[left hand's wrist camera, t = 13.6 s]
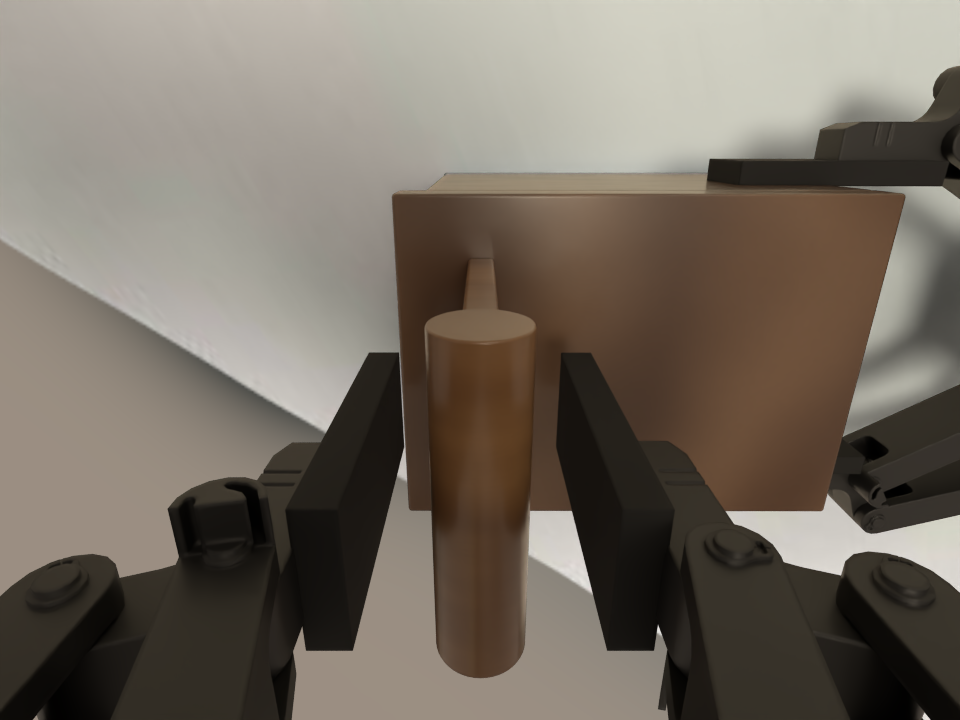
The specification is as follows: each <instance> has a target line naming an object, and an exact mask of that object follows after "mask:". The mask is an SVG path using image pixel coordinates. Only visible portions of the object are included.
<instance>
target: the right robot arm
mask: <svg viewBox="0 0 960 720" xmlns="http://www.w3.org/2000/svg"><path fill="white" fill-rule="evenodd" d="M933 96H934V98H935V100H934V102H933V104H932V105H931V107H930V108H929V110H928V111H927V112H926V113H925V114H924V115H923V116H922V117H921V118H919V119H918V120H916V121H914V122H852V123H836V124H833V125H831V126H828V127H826V128H823V129H821V130H820V133H819V138H818V143H817V148H816V152H815V157H814V159H710V161H709V168H708V175H707V180H708V181H715V182H721V183H728V184H734V185H832V186H943V187H944V188H945V189H947V190H948V191H950V192H951V193H952V194H954V195H955V196H956V197H958V198H959V199H960V66H956V67H952V68H949V69H947V70H945V71H944V72H943V73H941V74H940V76H939V77H938V78H937V80H936V81H935V84H934V87H933ZM828 495H829V496H830V497H831V498H832V499H833V500H834V501H835V502H836V503H837V504H838V505H839V506H840V507H841V508H842V509H843V510H844V511H845V512H846V513H847V514H848V515H849V516H850V517H851V518H852V519H853V520H854V521H855V522H856V523H857V524H858V525H859V526H860V527H861V528H862V529H863V530H864V531H865V532H867V533H871V534H873V533H880V532H885V531H889V530H894V529H898V528H903V527H907V526H912V525H916V524H921V523H925V522H930V521H934V520H939V519H943V518H948V517H952V516H957V515H960V385H958V386H955V387H953V388H951V389H949V390H946V391H944V392H942V393H940V394H938V395H935V396H933V397H931V398H929V399H926V400H924V401H922V402H920V403H917V404H915V405H913V406H911V407H909V408H906V409H904V410H902V411H900V412H897V413H895V414H893V415H891V416H889V417H886V418H884V419H882V420H880V421H877V422H875V423H873V424H871V425H868V426H866V427H864V428H862V429H860V430H857V431H855V432H853V433H851V434H848V435H846V436H844V437H842V440H841V444H840V448H839V452H838V455H837V459H836V463H835V467H834V471H833V474H832V478H831V482H830V486H829V490H828Z"/></svg>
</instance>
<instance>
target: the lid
mask: <svg viewBox="0 0 960 720" xmlns="http://www.w3.org/2000/svg"><path fill="white" fill-rule="evenodd" d="M904 201H905V195H904V194H901V193H893V192H884V191H398V192H397V193H395V194H393V195H392V207H393V226H394V244H395V262H396V281H397V299H398V317H399V336H400V354H401V372H402V390H403V409H404V427H405V445H406V464H407V482H408V500H409V509H410V510H416V511H419V510H421V511H431V512H432V538H433V566H434V593H435V619H436V644H437V649H438V652H439V654H440V656H441V658H442V659H443V661H444V662H445V663H446V664H447V665H448V666H449V667H450V668H451V669H453V670H454V671H456V672H457V673H460V674H462V675H465V676H468V677H473V678H488V677H493V676H497V675H500V674H502V673H504V672H506V671H507V670H509V669H510V668H511V667H513V666H514V665H515V664H516V662H517V661H518V660H519V658H520V657H521V655H522V653H523V650H524V645H525V626H526V600H527V574H528V547H529V521H530V511H572V509H571V505H570V501H569V497H568V493H567V489H566V485H565V481H564V477H563V473H562V469H561V465H560V461H559V457H558V453H557V449H556V436H557V418H558V400H559V382H560V364H561V353H591V354H592V356H593V357H594V359H595V361H596V363H597V365H598V367H599V369H600V371H601V372H602V374H603V376H604V378H605V380H606V382H607V384H608V385H609V387H610V389H611V391H612V393H613V395H614V397H615V399H616V400H617V402H618V404H619V406H620V408H621V410H622V412H623V413H624V415H625V417H626V419H627V421H628V423H629V425H630V427H631V428H632V430H633V432H634V434H635V436H636V438H637V440H638V441H669V442H670V443H672V444H673V445H675V446H676V447H678V448H679V449H681V450H682V451H683V452H685V453H686V454H687V455H688V456H689V458H690V459H691V461H692V462H693V464H694V465H695V467H696V468H697V472H699V473H700V474H701V476H702V477H703V479H704V480H705V485H708V486H709V488H710V489H711V491H712V492H713V494H714V495H715V497H716V498H717V500H718V501H719V503H720V504H721V506H722V507H723V509H724V510H725V511H822V510H823V509H824V505H825V501H826V497H827V493H828V490H829V486H830V482H831V478H832V474H833V471H834V467H835V463H836V459H837V455H838V452H839V448H840V444H841V440H842V436H843V433H844V429H845V425H846V421H847V417H848V413H849V410H850V406H851V402H852V398H853V394H854V391H855V387H856V383H857V379H858V375H859V372H860V368H861V364H862V360H863V356H864V353H865V349H866V345H867V341H868V337H869V334H870V330H871V326H872V322H873V318H874V315H875V311H876V307H877V303H878V299H879V296H880V292H881V288H882V284H883V280H884V277H885V273H886V269H887V265H888V261H889V258H890V254H891V250H892V246H893V242H894V239H895V235H896V231H897V227H898V223H899V220H900V216H901V212H902V208H903V204H904Z"/></svg>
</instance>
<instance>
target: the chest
mask: <svg viewBox="0 0 960 720" xmlns="http://www.w3.org/2000/svg"><path fill="white" fill-rule="evenodd" d="M707 175H708V173H445V174H444V176H443V177H442V178H441V179H440V180H439V181H437V182H436V183H435V184H434V185H433V186H431V187H430V188H429V189H428V190H427V191H871V190H866V189H858V188H849V187H840V186H832V185H734V184H728V183H721V182H715V181H708V180H707Z"/></svg>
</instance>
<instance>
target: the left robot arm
mask: <svg viewBox="0 0 960 720" xmlns="http://www.w3.org/2000/svg"><path fill="white" fill-rule="evenodd" d="M403 449H404V435H403V417H402V399H401V381H400V363H399V353H369V354H368V356H367V357H366V359H365V361H364V363H363V365H362V367H361V369H360V371H359V372H358V374H357V376H356V378H355V380H354V382H353V384H352V385H351V387H350V389H349V391H348V393H347V395H346V397H345V399H344V400H343V402H342V404H341V406H340V408H339V410H338V412H337V414H336V415H335V417H334V419H333V421H332V423H331V425H330V427H329V428H328V430H327V432H326V434H325V436H324V438H323V440H322V442H321V443H291V444H289V445H288V446H287V447H285V448H284V449H282V450H281V451H279V452H278V453H277V454H275V455H274V456H273V457H272V459H271V460H270V462H269V463H268V465H267V466H266V468H265V469H264V473H263V474H261V475H260V477H259V478H258V480H253V479H249V478H246V477H228V478H223V479H218V480H213V481H209V482H206V483H204V484H201V485H199V486H196V487H194V488H191V489H190V490H188V491H187V492H185V493H184V494H182V495H181V496H179V497H177V498H176V500H175V501H174V502H173V503H172V504H171V505H170V507H169V508H168V512H169V517H170V521H171V525H172V529H173V533H174V538H175V542H176V546H177V550H178V554H179V558H178V561H177V563H176V565H173V566H170V567H167V568H163V569H159V570H154V571H150V572H145V573H141V574H136V575H131V576H127V577H122V578H119V574H118V571H117V568H116V564H115V563H114V562H113V561H111V560H110V559H109V558H108V557H106V556H101V555H95V554H88V555H78V556H71V557H68V558H64V559H61V560H57V561H54V562H51V563H49V564H47V565H45V566H43V567H41V568H39V569H37V570H35V571H33V572H31V573H29V574H28V575H26V576H25V577H24V578H22V579H21V580H19V581H18V582H17V583H15V584H14V585H12V586H11V587H10V588H9V589H8V590H7V591H6V592H4V593H3V594H2V595H1V596H0V720H33V719H34V718H35V716H36V715H37V717H38V719H39V720H292V710H293V701H294V691H295V682H296V668H295V661H294V655H293V650H294V647H295V644H296V642H297V639H298V636H299V633H300V631H301V628H302V627H303V634H304V640H305V647H306V651H353V648H354V644H355V640H356V636H357V632H358V628H359V624H360V620H361V616H362V612H363V608H364V604H365V600H366V596H367V592H368V588H369V584H370V580H371V576H372V572H373V568H374V564H375V560H376V556H377V552H378V548H379V544H380V540H381V537H382V533H383V528H384V525H385V521H386V517H387V513H388V509H389V505H390V501H391V497H392V493H393V489H394V485H395V481H396V477H397V473H398V469H399V465H400V461H401V457H402V453H403ZM556 449H557V453H558V457H559V461H560V465H561V469H562V473H563V477H564V481H565V485H566V489H567V493H568V497H569V501H570V505H571V509H572V513H573V517H574V521H575V525H576V529H577V533H578V537H579V541H580V544H581V548H582V552H583V556H584V560H585V564H586V568H587V572H588V576H589V580H590V584H591V588H592V592H593V596H594V600H595V604H596V608H597V612H598V616H599V620H600V624H601V628H602V632H603V636H604V640H605V644H606V648H607V651H654V647H655V640H656V634H657V627H658V625H659V628H660V631H661V633H662V636H663V639H664V641H665V644H666V647H667V655H666V661H665V667H664V674H663V680H662V686H661V692H660V699H659V706H658V709H660V710H666V705H667V709H668V718H669V720H923V719H922V717H923V714H924V712H925V713H926V715H927V716H928V717H929V718H930V720H960V593H959V592H958V591H957V590H956V589H955V588H954V587H953V586H952V585H951V584H949V583H948V582H947V581H945V580H944V579H942V578H941V577H940V576H938V575H937V574H935V573H934V572H933V571H931V570H929V569H927V568H925V567H923V566H921V565H919V564H917V563H915V562H913V561H911V560H908V559H905V558H902V557H898V556H895V555H891V554H887V553H878V552H863V553H858V554H853V555H852V556H851V557H850V558H849V559H848V560H846V561H845V564H844V568H843V571H842V575H841V576H840V575H836V574H831V573H826V572H822V571H817V570H812V569H808V568H803V567H799V566H795V565H792V564H788V563H785V562H783V560H782V557H781V556H780V554H779V553H778V551H777V550H776V549H775V547H774V546H773V544H771V543H770V542H769V541H767V540H766V539H765V538H763V537H762V536H761V535H759V534H758V533H756V532H753V531H751V530H749V529H747V528H744V527H742V526H739V525H734V524H733V522H732V521H731V519H730V518H729V516H728V515H727V513H726V512H725V510H724V509H723V507H722V506H721V504H720V503H719V501H718V500H717V498H716V497H715V495H714V494H713V492H712V491H711V489H710V488H709V486H708V485H705V480H704V479H703V477H702V476H701V474H700V473H699V472H697V468H696V467H695V465H694V464H693V462H692V461H691V459H690V458H689V456H688V455H687V454H686V453H685V452H683V451H682V450H681V449H679V448H678V447H676V446H675V445H673V444H672V443H670V442H669V441H638V440H637V438H636V436H635V434H634V432H633V430H632V428H631V427H630V425H629V423H628V421H627V419H626V417H625V415H624V413H623V412H622V410H621V408H620V406H619V404H618V402H617V400H616V399H615V397H614V395H613V393H612V391H611V389H610V387H609V385H608V384H607V382H606V380H605V378H604V376H603V374H602V372H601V371H600V369H599V367H598V365H597V363H596V361H595V359H594V357H593V356H592V354H591V353H561V364H560V382H559V400H558V418H557V436H556Z"/></svg>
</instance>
